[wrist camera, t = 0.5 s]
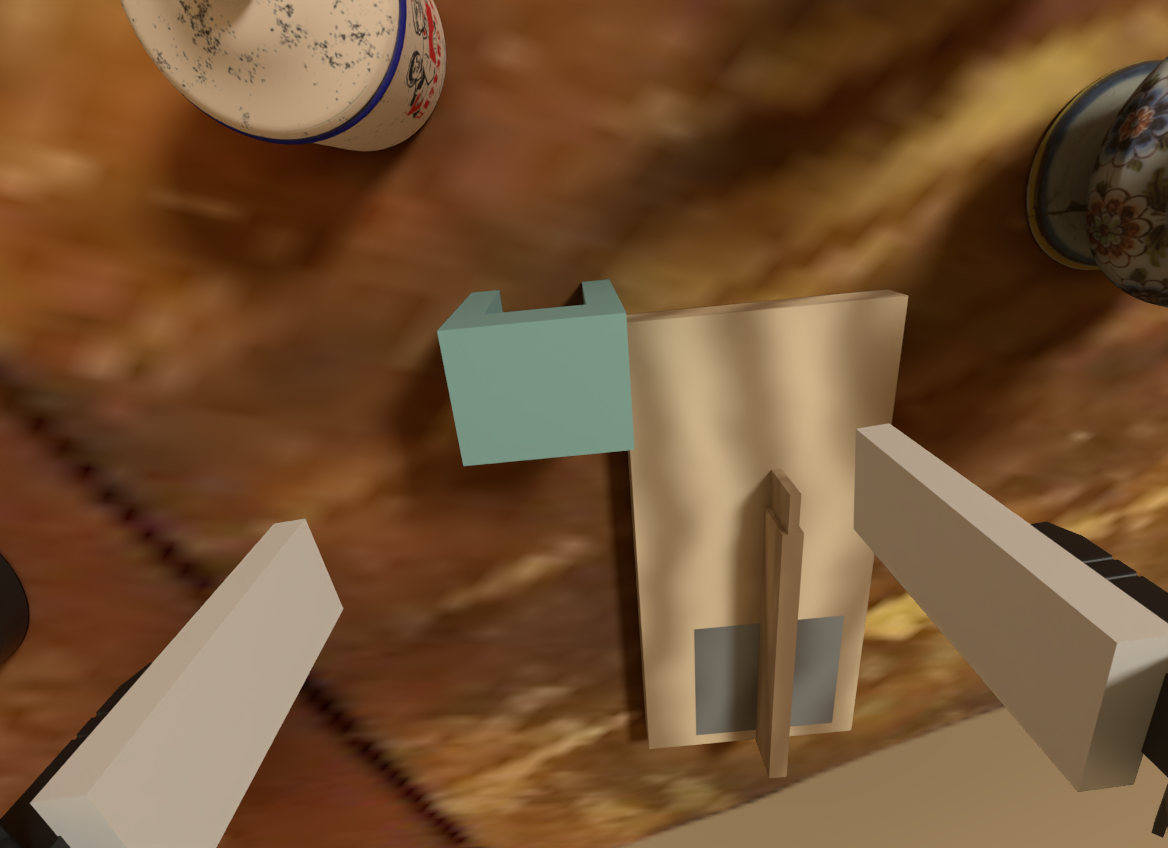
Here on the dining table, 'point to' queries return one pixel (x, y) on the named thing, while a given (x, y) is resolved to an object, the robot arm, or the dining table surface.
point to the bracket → (539, 378)
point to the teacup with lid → (301, 65)
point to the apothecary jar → (1108, 181)
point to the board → (754, 512)
